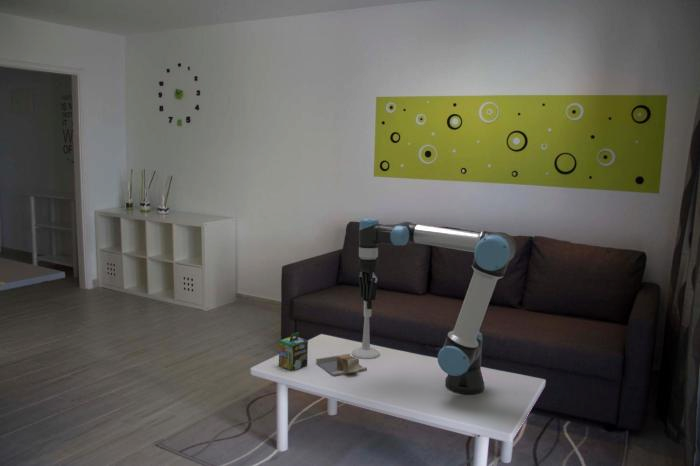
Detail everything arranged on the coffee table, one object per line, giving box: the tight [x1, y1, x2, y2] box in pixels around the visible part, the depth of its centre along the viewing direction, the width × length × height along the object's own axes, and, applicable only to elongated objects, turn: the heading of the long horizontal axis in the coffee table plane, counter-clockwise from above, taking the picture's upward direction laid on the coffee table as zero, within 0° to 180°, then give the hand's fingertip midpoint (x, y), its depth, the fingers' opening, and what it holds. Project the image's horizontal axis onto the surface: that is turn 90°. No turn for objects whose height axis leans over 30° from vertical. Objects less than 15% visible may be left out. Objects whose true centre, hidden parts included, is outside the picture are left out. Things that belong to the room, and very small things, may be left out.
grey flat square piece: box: [315, 353, 368, 377], centre depth 246 cm, size 16×16×2 cm
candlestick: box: [351, 304, 381, 360], centre depth 261 cm, size 13×13×30 cm
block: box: [337, 354, 360, 374], centre depth 240 cm, size 5×5×10 cm
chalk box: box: [278, 331, 309, 372], centre depth 245 cm, size 9×9×15 cm
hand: (367, 316), depth 229 cm, fingers closed
